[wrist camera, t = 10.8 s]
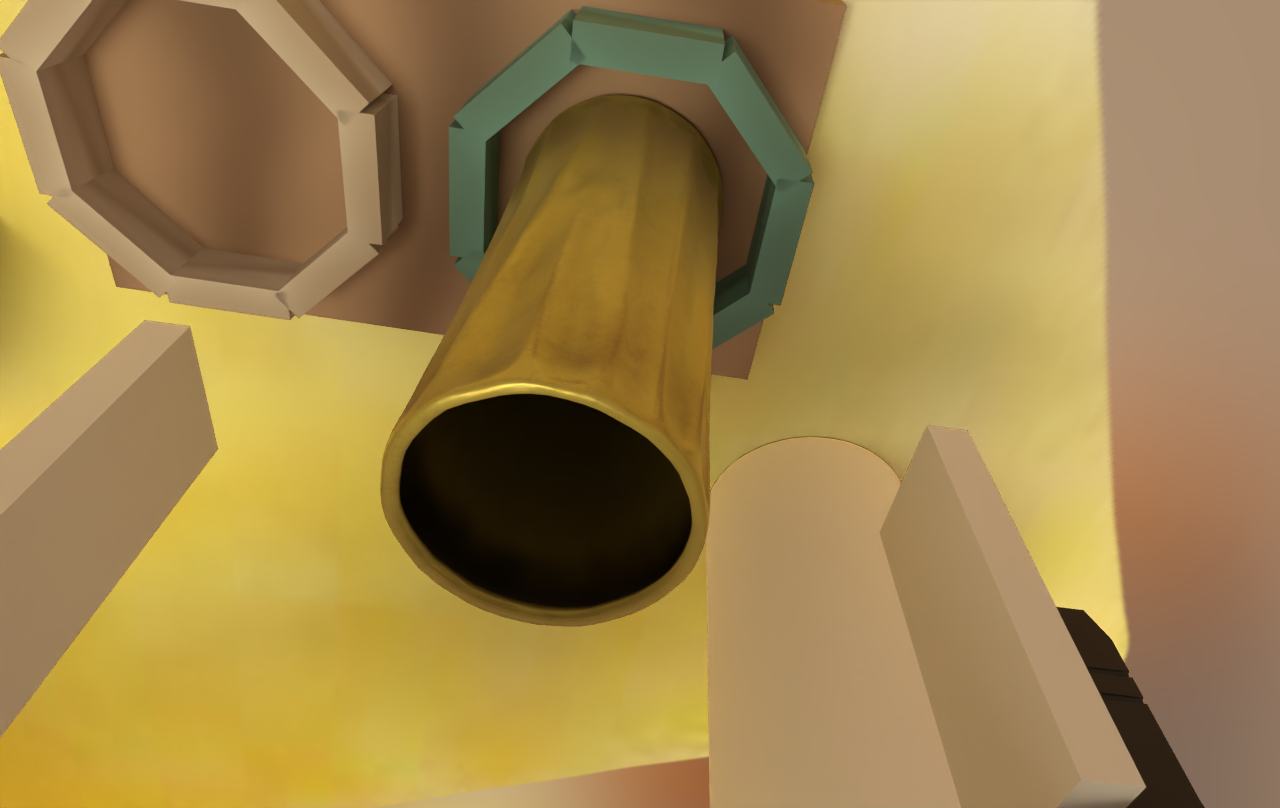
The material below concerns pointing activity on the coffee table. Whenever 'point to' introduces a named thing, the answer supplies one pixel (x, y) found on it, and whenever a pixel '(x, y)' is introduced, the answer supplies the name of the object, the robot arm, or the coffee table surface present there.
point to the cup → (813, 639)
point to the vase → (573, 382)
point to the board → (395, 138)
